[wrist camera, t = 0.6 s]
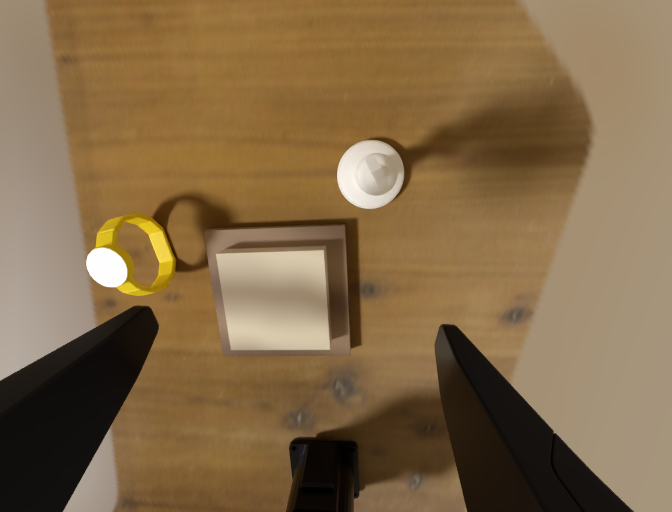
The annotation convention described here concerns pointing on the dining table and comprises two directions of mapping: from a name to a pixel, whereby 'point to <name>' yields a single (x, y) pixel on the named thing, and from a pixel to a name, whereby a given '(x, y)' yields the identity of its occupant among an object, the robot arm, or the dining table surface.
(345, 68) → the dining table surface
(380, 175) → the chess piece
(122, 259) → the watch
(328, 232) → the build base
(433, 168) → the dining table surface
